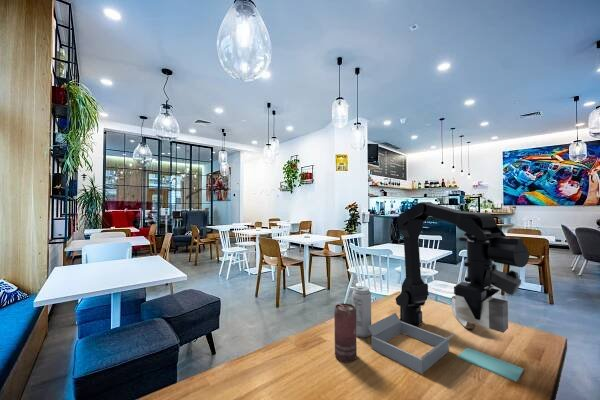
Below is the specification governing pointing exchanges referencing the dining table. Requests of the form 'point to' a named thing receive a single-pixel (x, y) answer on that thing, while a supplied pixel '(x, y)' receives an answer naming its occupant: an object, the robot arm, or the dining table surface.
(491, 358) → the mat
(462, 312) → the block
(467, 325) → the tin
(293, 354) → the dining table surface
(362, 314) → the energy drink can
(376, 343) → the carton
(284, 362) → the dining table surface
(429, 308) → the dining table surface
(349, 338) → the can
